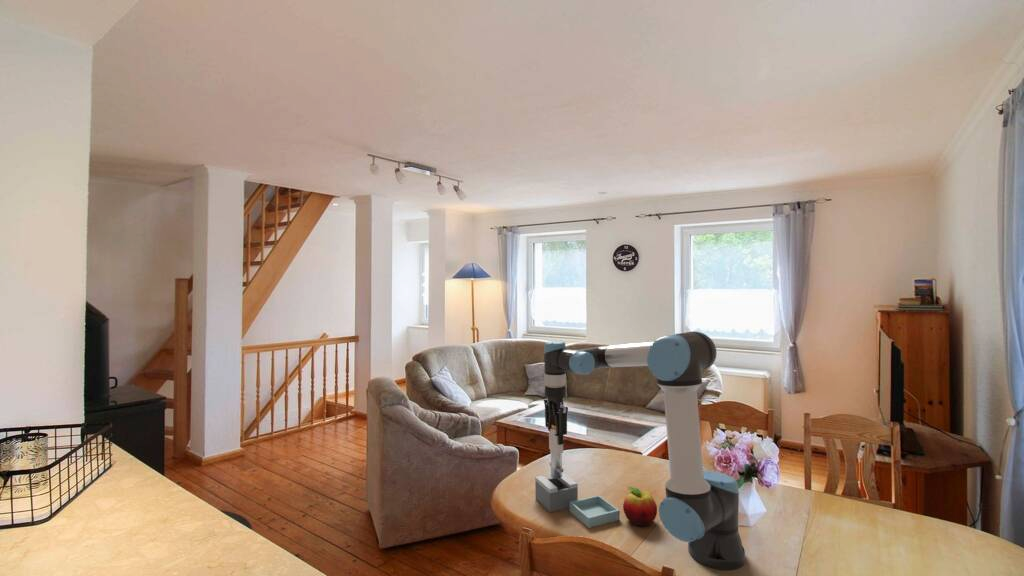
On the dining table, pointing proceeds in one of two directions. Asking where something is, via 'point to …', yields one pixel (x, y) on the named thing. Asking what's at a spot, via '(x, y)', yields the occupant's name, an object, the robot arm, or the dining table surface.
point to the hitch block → (556, 492)
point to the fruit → (640, 507)
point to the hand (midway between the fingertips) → (556, 450)
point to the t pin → (555, 456)
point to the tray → (594, 511)
